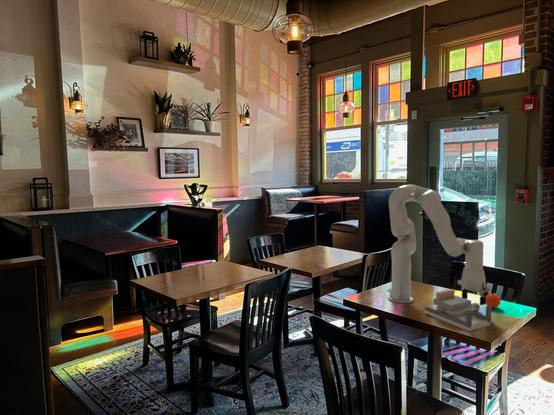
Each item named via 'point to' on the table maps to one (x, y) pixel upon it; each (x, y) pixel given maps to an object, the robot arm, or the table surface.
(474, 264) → the robot arm
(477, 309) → the loose roller
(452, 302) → the slab
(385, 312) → the table surface
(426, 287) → the table surface
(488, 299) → the clementine
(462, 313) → the roller track
